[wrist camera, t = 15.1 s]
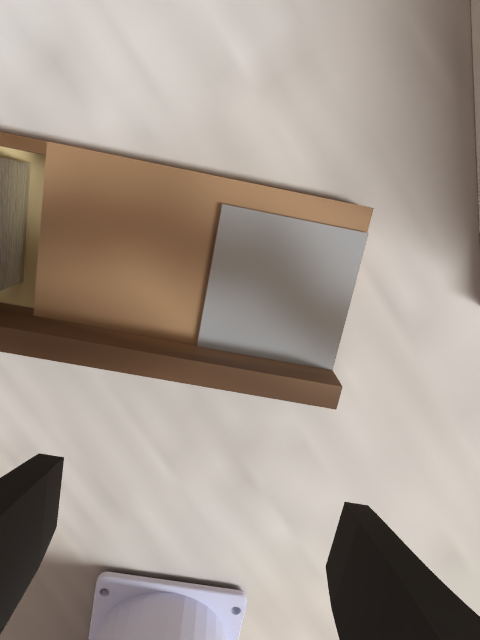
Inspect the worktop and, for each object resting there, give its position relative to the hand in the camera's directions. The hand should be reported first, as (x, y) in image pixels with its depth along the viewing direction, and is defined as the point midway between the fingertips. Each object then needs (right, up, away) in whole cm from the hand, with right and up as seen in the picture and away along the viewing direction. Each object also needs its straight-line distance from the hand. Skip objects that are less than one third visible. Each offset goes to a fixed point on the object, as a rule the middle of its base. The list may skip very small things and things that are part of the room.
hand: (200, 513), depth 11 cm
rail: (-6, +8, +8) cm, 13 cm away
